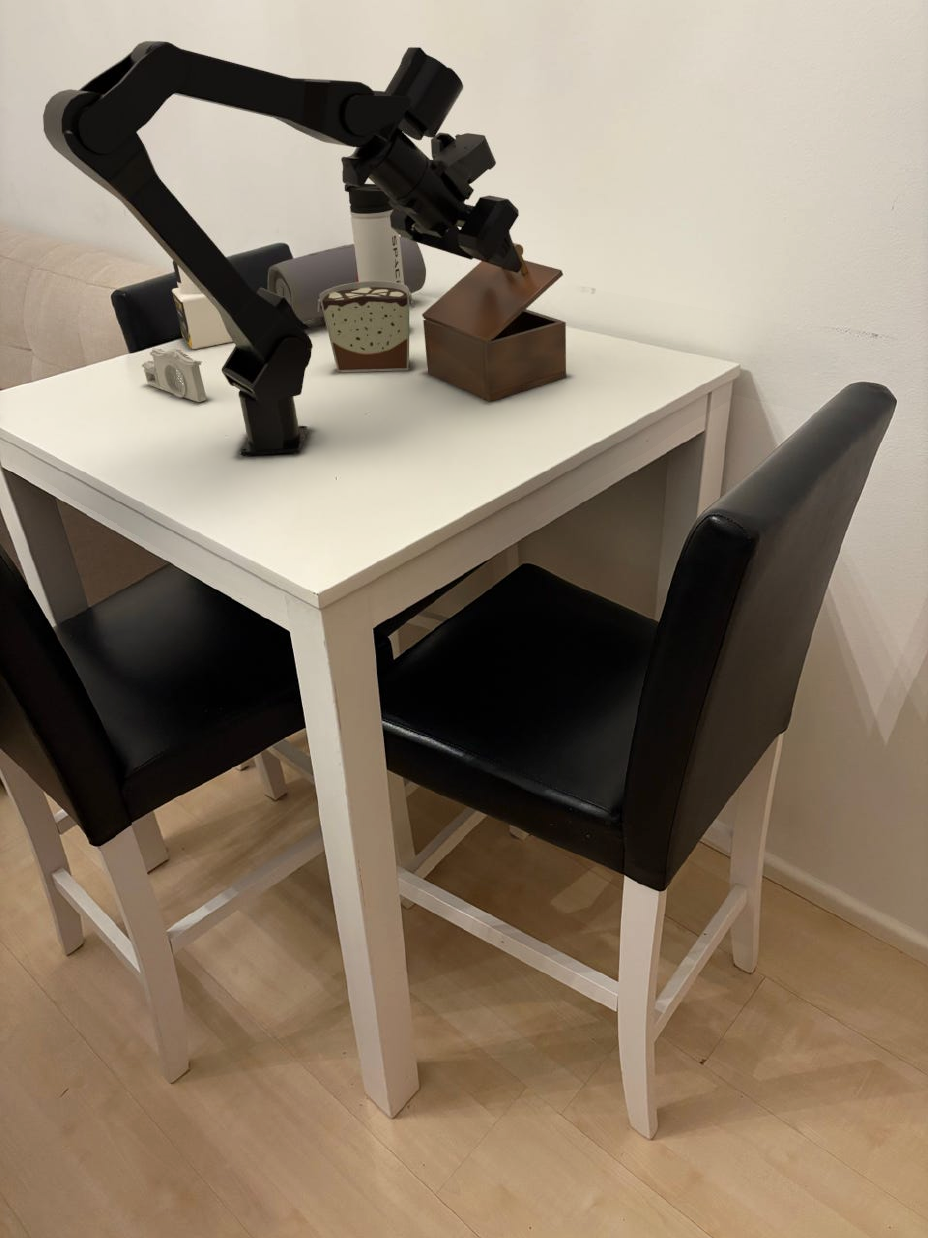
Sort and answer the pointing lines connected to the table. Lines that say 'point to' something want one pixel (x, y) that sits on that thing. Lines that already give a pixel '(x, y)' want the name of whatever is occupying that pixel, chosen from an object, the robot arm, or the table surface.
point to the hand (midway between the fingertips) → (496, 262)
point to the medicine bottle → (197, 314)
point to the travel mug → (374, 235)
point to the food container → (368, 325)
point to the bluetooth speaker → (333, 276)
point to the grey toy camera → (175, 374)
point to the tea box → (499, 356)
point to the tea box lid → (491, 298)
